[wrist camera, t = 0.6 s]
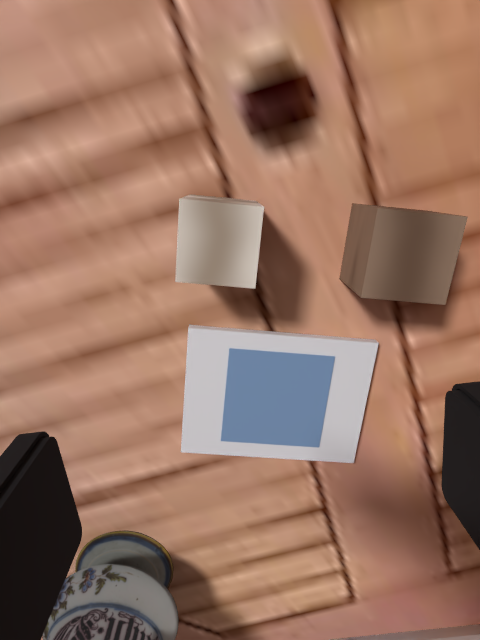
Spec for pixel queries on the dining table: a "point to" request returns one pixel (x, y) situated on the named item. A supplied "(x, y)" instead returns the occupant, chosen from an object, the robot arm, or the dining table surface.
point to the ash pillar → (218, 241)
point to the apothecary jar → (117, 592)
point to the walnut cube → (401, 253)
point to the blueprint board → (275, 393)
